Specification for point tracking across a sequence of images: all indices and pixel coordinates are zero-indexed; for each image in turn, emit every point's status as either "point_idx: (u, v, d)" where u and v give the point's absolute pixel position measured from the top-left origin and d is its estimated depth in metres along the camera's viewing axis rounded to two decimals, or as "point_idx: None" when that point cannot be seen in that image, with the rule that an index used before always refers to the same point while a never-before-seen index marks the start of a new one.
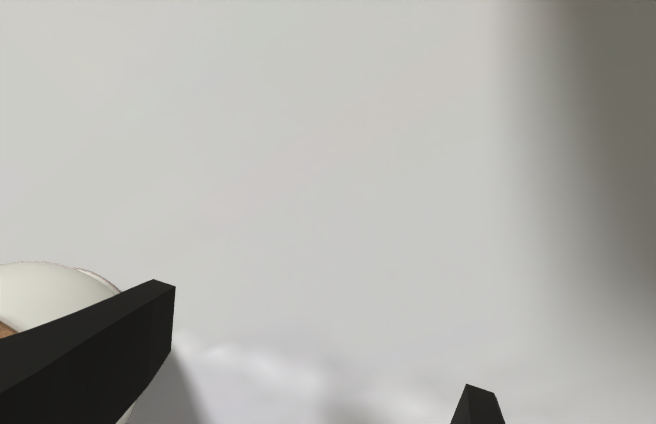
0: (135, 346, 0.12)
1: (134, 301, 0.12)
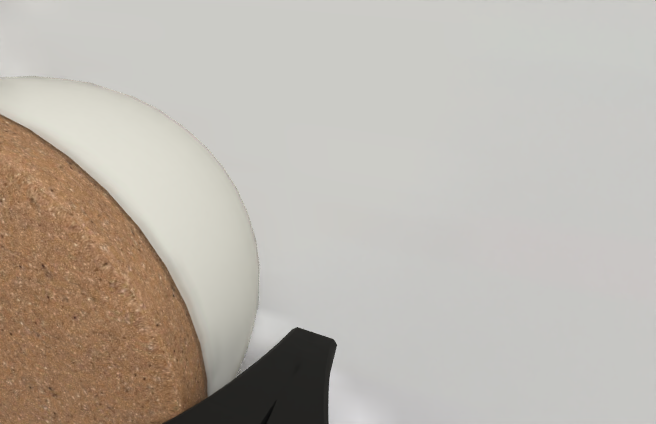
0: None
1: (295, 356, 0.11)
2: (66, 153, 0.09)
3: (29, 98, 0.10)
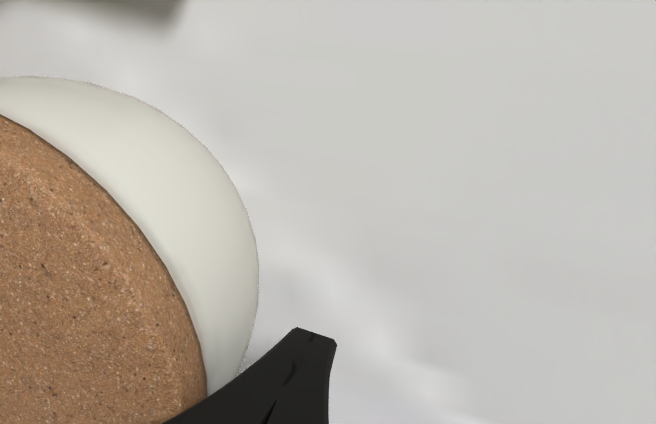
0: None
1: (295, 356, 0.11)
2: (65, 153, 0.09)
3: (28, 98, 0.10)
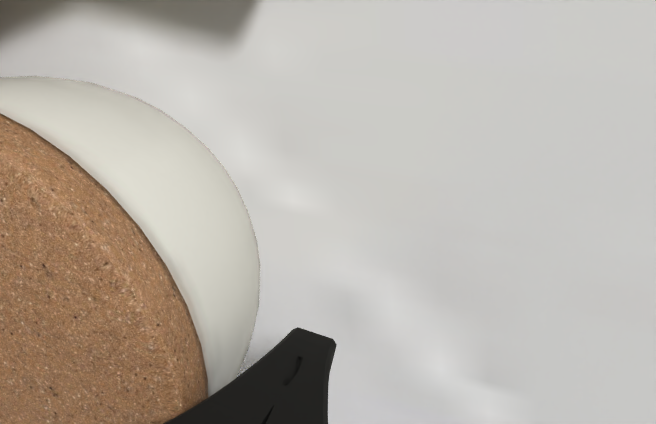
0: None
1: (295, 356, 0.11)
2: (67, 153, 0.09)
3: (30, 98, 0.10)
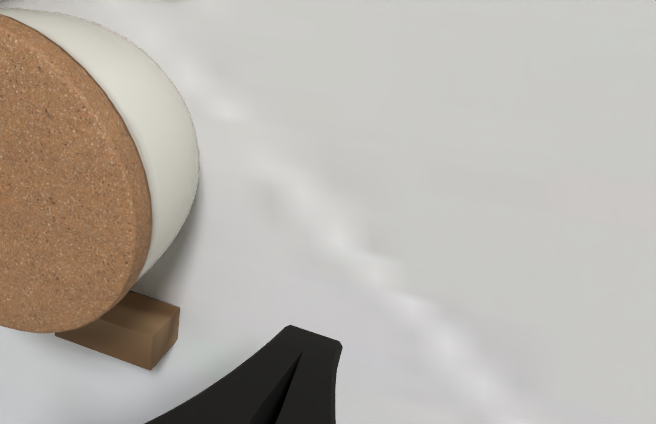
0: None
1: (287, 353, 0.11)
2: (60, 46, 0.15)
3: (36, 17, 0.16)
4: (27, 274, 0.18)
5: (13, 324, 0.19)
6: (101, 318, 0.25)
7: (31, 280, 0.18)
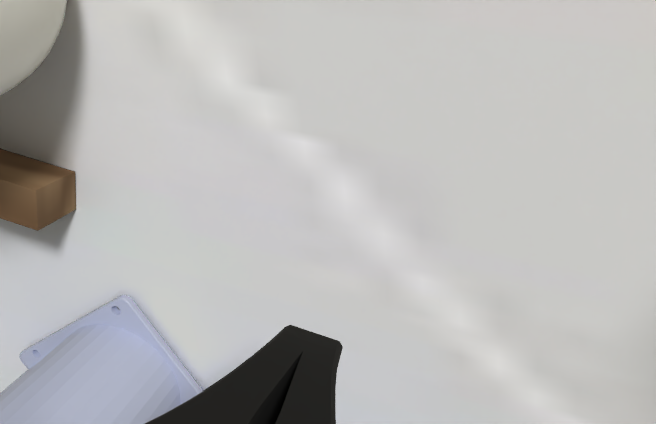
0: None
1: (287, 353, 0.11)
2: None
3: None
4: None
5: None
6: None
7: None
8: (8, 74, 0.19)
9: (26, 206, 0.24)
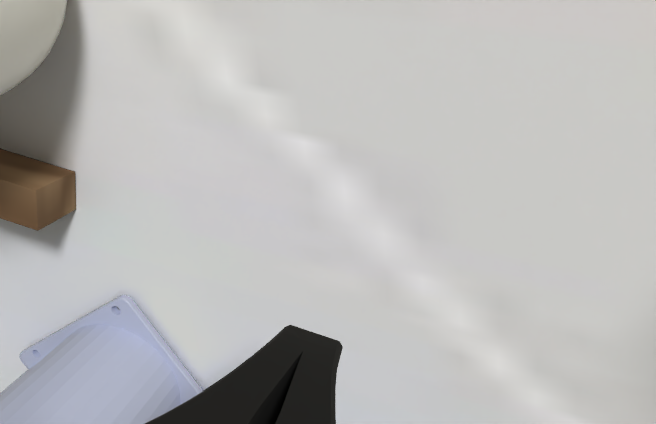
0: None
1: (287, 353, 0.11)
2: None
3: None
4: None
5: None
6: None
7: None
8: (8, 74, 0.19)
9: (26, 206, 0.24)
